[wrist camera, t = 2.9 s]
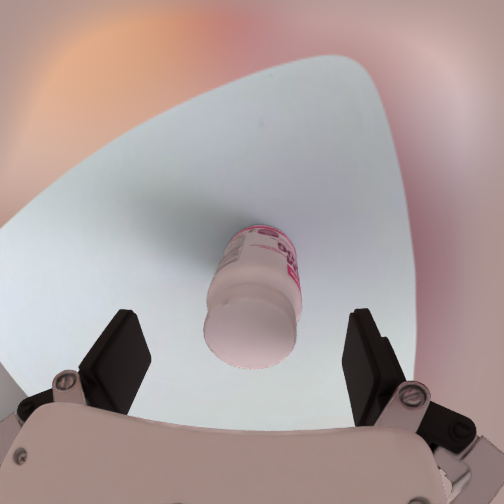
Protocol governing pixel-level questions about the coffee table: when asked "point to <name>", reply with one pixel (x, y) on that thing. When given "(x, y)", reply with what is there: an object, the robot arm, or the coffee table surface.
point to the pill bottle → (254, 300)
